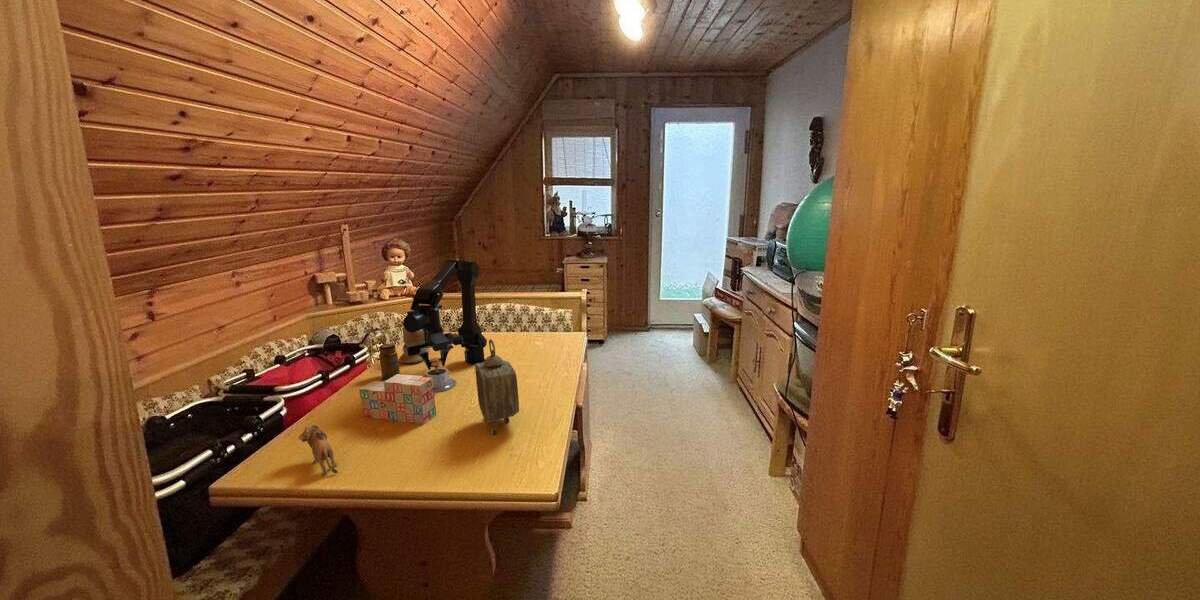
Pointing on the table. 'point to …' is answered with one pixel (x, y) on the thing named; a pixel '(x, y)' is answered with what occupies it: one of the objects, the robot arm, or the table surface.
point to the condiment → (388, 361)
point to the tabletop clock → (496, 388)
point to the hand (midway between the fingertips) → (436, 368)
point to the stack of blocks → (400, 399)
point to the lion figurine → (319, 447)
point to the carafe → (439, 377)
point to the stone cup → (410, 338)
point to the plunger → (436, 363)
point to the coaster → (451, 385)
